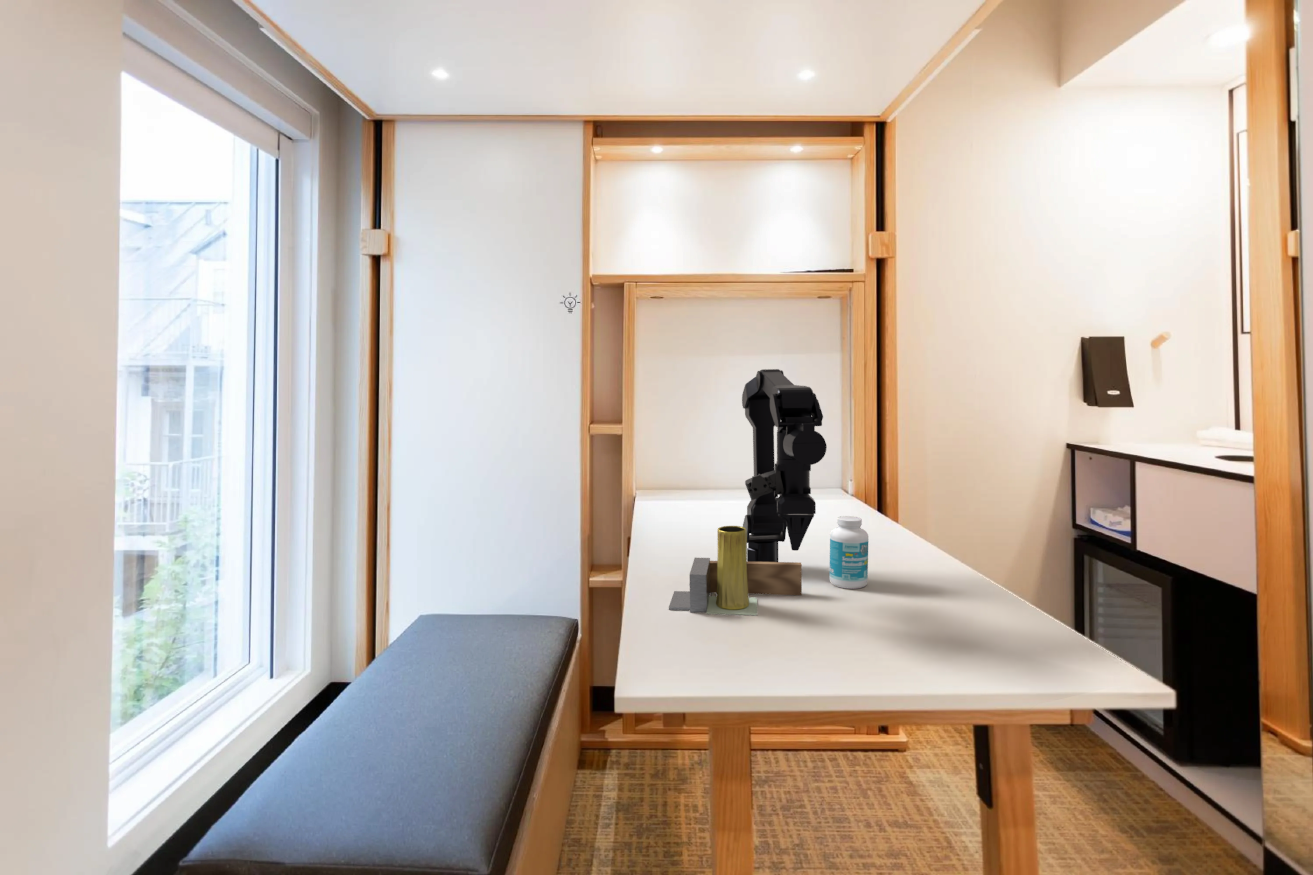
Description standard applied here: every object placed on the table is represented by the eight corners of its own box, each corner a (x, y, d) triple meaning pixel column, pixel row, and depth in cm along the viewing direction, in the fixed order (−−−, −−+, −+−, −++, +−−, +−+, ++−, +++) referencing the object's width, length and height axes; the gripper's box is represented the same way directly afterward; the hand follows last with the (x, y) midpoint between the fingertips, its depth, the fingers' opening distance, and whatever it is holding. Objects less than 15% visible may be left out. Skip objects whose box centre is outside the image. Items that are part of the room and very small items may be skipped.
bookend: (710, 592, 130) (710, 557, 130) (706, 612, 120) (706, 574, 119) (674, 591, 131) (674, 557, 131) (668, 611, 121) (667, 573, 120)
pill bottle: (843, 591, 129) (844, 523, 128) (822, 580, 136) (822, 516, 135) (875, 587, 132) (876, 520, 131) (853, 576, 139) (853, 512, 138)
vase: (753, 601, 124) (752, 526, 123) (743, 612, 119) (742, 533, 118) (722, 597, 127) (721, 523, 126) (711, 607, 122) (710, 531, 120)
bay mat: (756, 598, 127) (756, 597, 127) (757, 615, 118) (757, 614, 118) (709, 596, 128) (709, 595, 128) (706, 613, 119) (706, 612, 119)
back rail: (801, 592, 129) (801, 562, 129) (801, 595, 128) (801, 564, 127) (695, 589, 132) (695, 560, 132) (695, 592, 131) (694, 562, 130)
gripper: (747, 451, 129) (748, 531, 130) (747, 464, 111) (747, 556, 112) (806, 451, 127) (806, 531, 129) (815, 464, 109) (815, 557, 110)
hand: (793, 543), depth 120 cm, fingers open, 9 cm apart
